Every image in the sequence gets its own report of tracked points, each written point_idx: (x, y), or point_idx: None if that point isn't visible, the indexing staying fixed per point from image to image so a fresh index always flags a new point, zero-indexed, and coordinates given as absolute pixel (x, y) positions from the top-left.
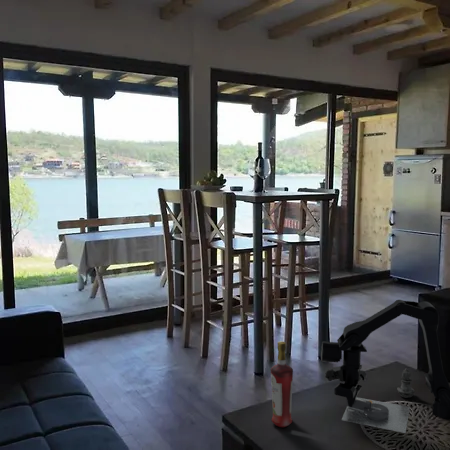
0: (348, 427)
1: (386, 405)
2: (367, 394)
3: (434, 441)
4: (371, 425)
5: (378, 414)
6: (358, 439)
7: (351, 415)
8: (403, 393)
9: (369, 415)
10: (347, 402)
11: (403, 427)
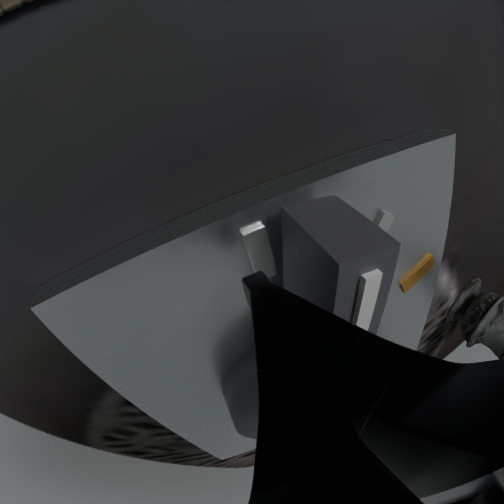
0: (51, 341)
1: (406, 328)
2: (485, 180)
3: (250, 461)
4: (163, 420)
5: (255, 435)
6: (35, 408)
7: (165, 313)
8: (471, 331)
9: (230, 406)
10: (304, 239)
11: (254, 445)
